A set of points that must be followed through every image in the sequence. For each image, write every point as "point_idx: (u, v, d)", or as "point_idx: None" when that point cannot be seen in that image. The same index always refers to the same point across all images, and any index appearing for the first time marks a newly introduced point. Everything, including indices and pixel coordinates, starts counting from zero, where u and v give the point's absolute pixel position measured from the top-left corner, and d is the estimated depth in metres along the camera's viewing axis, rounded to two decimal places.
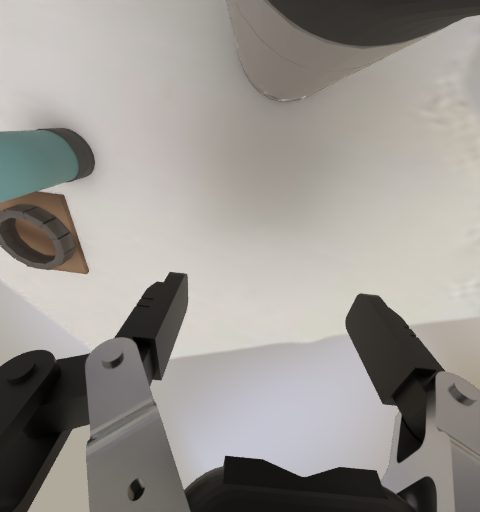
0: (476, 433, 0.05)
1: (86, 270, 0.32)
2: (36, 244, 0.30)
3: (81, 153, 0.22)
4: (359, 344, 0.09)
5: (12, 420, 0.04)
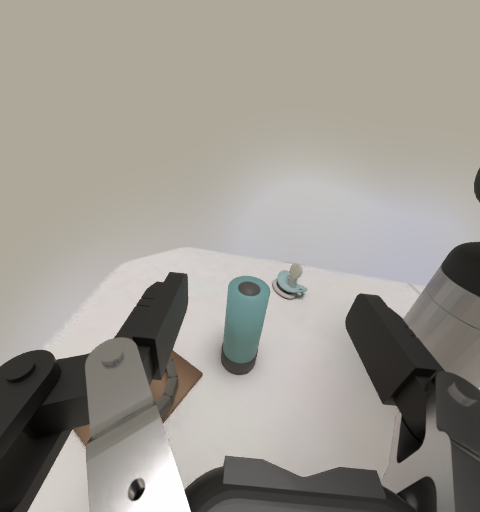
0: (475, 433, 0.05)
1: None
2: None
3: (256, 356, 0.29)
4: (359, 344, 0.09)
5: (12, 420, 0.04)
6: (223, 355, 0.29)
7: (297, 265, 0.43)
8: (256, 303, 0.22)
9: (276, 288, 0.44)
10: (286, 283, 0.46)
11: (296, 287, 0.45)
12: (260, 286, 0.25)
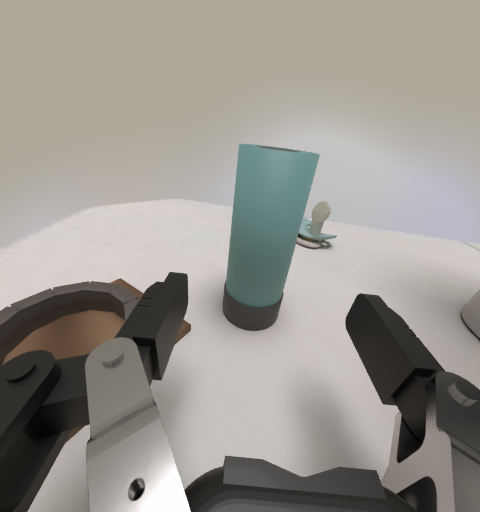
0: (476, 433, 0.05)
1: None
2: None
3: None
4: (359, 344, 0.09)
5: (12, 420, 0.04)
6: (226, 297, 0.17)
7: (323, 202, 0.32)
8: (299, 156, 0.11)
9: None
10: (307, 232, 0.34)
11: (321, 236, 0.33)
12: None
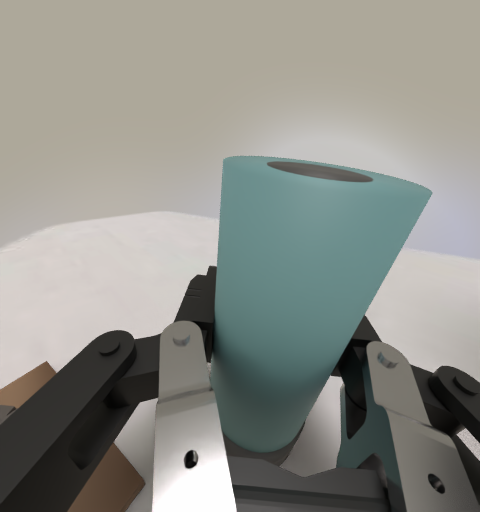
0: (403, 394, 0.06)
1: None
2: None
3: None
4: None
5: (97, 390, 0.05)
6: None
7: None
8: (401, 204, 0.04)
9: None
10: None
11: None
12: (357, 172, 0.06)
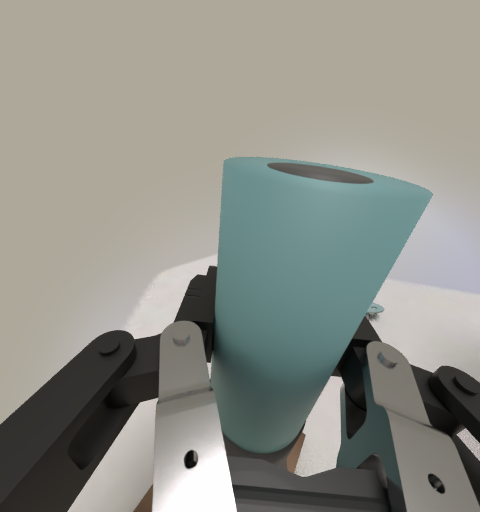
0: (403, 394, 0.06)
1: None
2: None
3: None
4: None
5: (98, 390, 0.05)
6: None
7: None
8: (402, 205, 0.04)
9: None
10: None
11: None
12: (357, 173, 0.06)
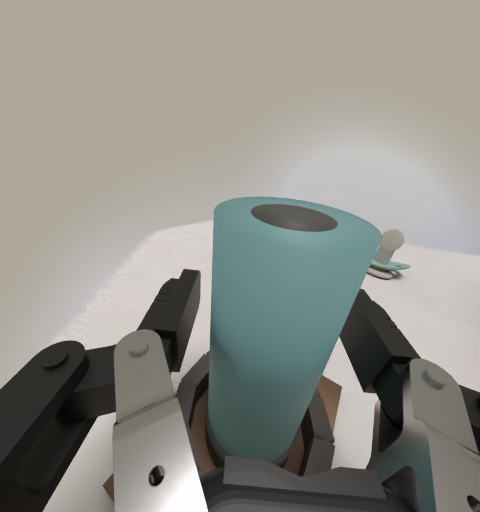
0: (448, 415, 0.05)
1: None
2: None
3: None
4: (344, 336, 0.09)
5: (45, 406, 0.05)
6: (209, 432, 0.11)
7: (396, 231, 0.30)
8: (349, 256, 0.05)
9: None
10: None
11: (389, 264, 0.32)
12: (328, 214, 0.07)
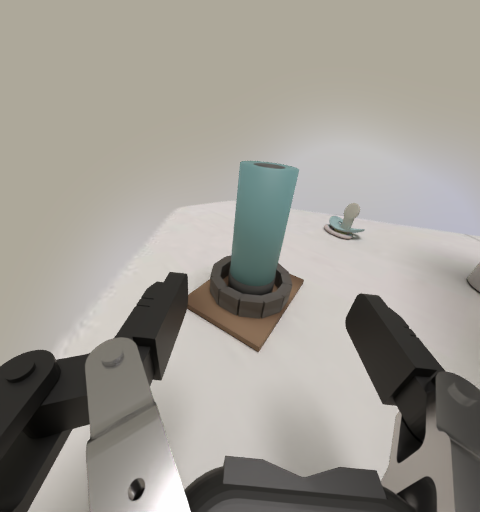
0: (476, 433, 0.05)
1: (262, 343, 0.18)
2: None
3: None
4: (359, 344, 0.09)
5: (12, 420, 0.04)
6: (231, 279, 0.22)
7: (354, 204, 0.41)
8: (283, 173, 0.15)
9: (330, 230, 0.42)
10: (339, 227, 0.44)
11: (351, 230, 0.43)
12: (284, 166, 0.18)
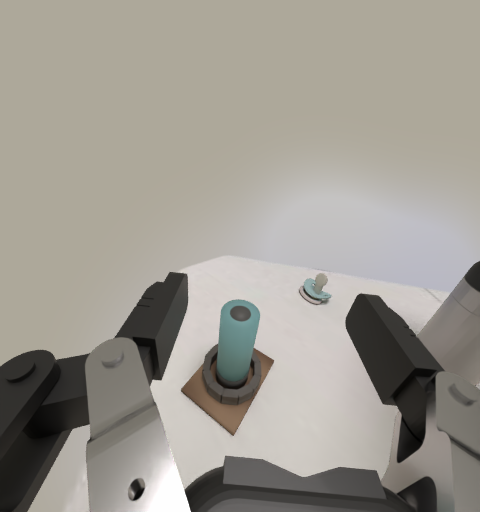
0: (476, 433, 0.05)
1: (236, 429, 0.27)
2: None
3: (248, 373, 0.31)
4: (359, 344, 0.09)
5: (12, 420, 0.04)
6: (217, 373, 0.30)
7: (323, 274, 0.49)
8: (247, 329, 0.24)
9: (304, 294, 0.51)
10: (312, 290, 0.52)
11: (321, 293, 0.51)
12: (251, 310, 0.26)
